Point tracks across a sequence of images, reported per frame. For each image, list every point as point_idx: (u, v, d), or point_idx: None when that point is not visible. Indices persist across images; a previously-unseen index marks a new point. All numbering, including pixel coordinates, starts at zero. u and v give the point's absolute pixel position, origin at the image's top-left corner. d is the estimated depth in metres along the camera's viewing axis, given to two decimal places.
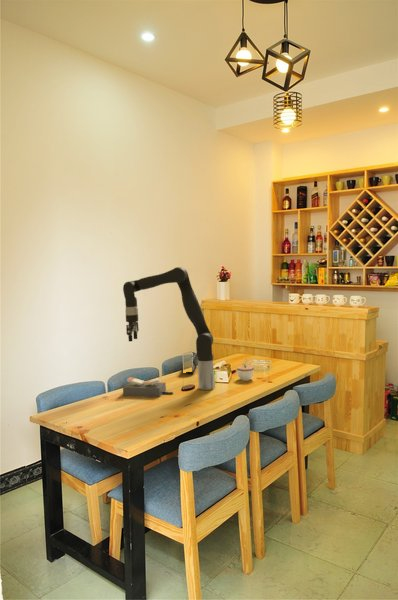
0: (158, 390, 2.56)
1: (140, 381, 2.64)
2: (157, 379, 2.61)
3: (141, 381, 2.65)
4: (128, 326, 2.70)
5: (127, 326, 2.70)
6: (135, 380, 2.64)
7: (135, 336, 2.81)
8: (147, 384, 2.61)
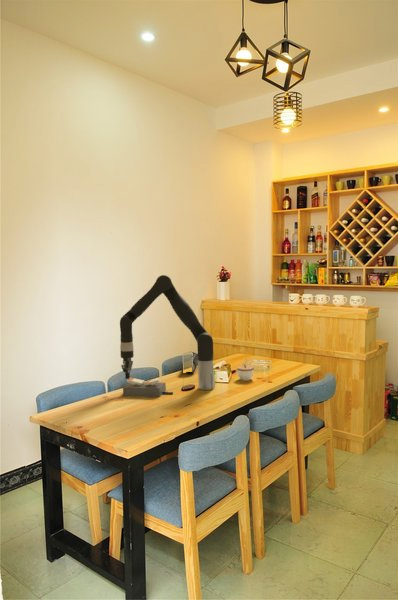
0: (158, 390, 2.56)
1: (140, 381, 2.64)
2: (157, 379, 2.61)
3: (141, 381, 2.65)
4: (123, 367, 2.60)
5: (122, 367, 2.60)
6: (135, 380, 2.64)
7: None
8: (147, 384, 2.61)
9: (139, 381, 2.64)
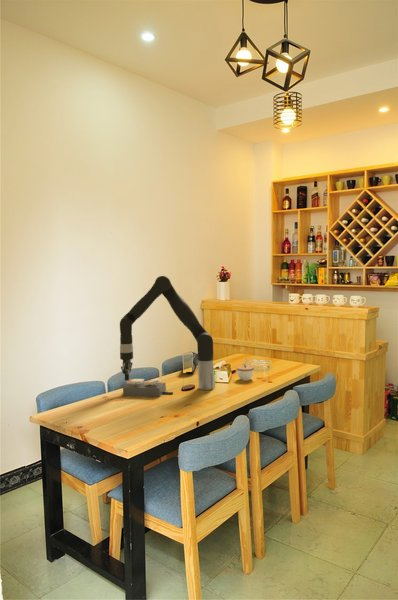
0: (158, 390, 2.56)
1: (139, 380, 2.64)
2: (157, 379, 2.61)
3: (140, 379, 2.65)
4: (123, 368, 2.60)
5: (122, 368, 2.60)
6: (134, 380, 2.64)
7: None
8: (147, 384, 2.61)
9: (138, 380, 2.64)
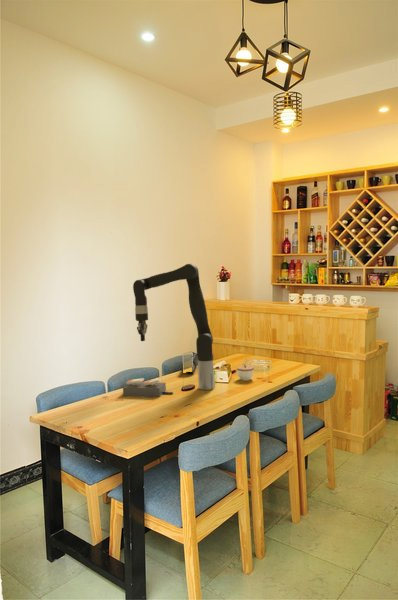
0: (158, 390, 2.56)
1: (139, 379, 2.64)
2: (157, 379, 2.61)
3: (140, 379, 2.65)
4: (139, 329, 2.68)
5: (138, 329, 2.68)
6: (134, 380, 2.64)
7: None
8: (147, 384, 2.61)
9: (138, 379, 2.64)
